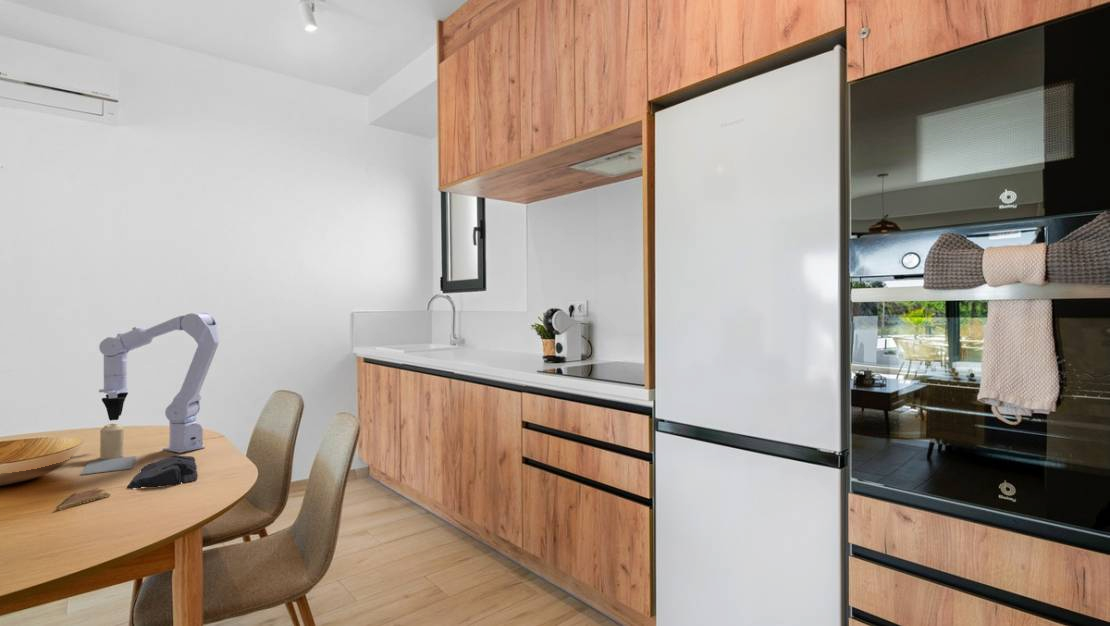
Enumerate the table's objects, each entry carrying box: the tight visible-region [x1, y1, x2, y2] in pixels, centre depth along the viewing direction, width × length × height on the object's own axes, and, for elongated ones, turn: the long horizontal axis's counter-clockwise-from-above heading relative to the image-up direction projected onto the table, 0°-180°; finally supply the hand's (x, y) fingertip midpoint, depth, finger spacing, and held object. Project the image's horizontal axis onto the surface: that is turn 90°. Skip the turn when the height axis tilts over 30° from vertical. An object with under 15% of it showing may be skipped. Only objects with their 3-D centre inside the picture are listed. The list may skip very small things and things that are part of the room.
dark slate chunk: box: [126, 454, 199, 488], centre depth 151 cm, size 15×22×5 cm
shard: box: [55, 487, 111, 511], centre depth 130 cm, size 11×8×2 cm
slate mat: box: [80, 455, 137, 476], centre depth 158 cm, size 14×11×1 cm
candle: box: [99, 423, 125, 460], centre depth 167 cm, size 6×6×10 cm
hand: (115, 417), depth 174 cm, fingers open, 7 cm apart
